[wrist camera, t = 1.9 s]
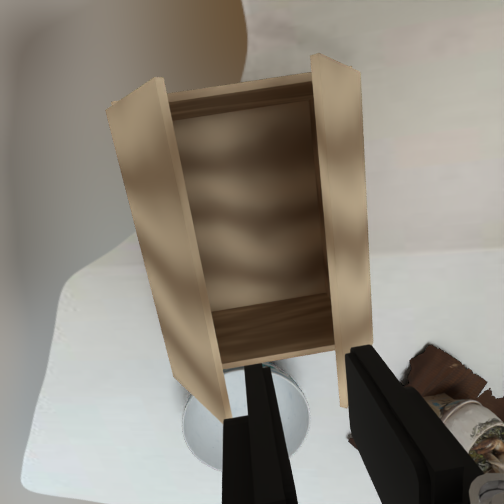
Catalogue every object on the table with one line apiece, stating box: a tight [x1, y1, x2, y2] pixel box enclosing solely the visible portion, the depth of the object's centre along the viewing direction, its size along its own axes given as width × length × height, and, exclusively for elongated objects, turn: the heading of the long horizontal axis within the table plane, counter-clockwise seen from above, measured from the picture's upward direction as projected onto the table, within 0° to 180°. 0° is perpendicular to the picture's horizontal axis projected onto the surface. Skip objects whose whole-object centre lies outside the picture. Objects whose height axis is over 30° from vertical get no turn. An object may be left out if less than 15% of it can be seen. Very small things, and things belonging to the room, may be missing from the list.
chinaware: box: [182, 362, 310, 472], centre depth 42 cm, size 15×15×8 cm
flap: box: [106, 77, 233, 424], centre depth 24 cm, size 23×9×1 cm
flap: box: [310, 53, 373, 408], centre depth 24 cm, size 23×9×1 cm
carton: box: [111, 66, 352, 369], centre depth 34 cm, size 24×18×12 cm
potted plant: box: [348, 345, 504, 474], centre depth 42 cm, size 20×19×25 cm
